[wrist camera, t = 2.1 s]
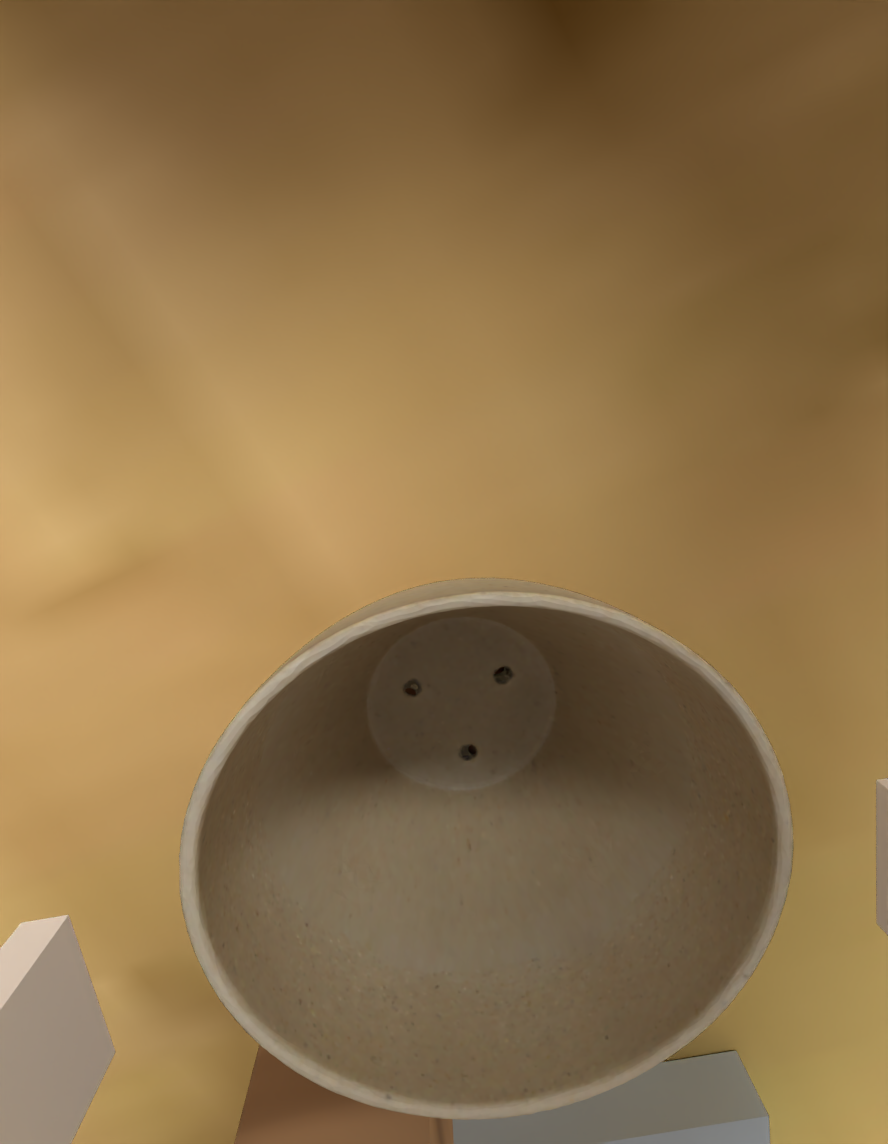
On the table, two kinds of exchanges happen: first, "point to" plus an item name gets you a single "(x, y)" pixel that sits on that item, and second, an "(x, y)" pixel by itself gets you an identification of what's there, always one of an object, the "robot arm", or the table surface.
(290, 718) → the flower pot
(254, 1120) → the peg
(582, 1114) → the grey window frame
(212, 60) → the table surface
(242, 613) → the table surface
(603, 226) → the table surface
